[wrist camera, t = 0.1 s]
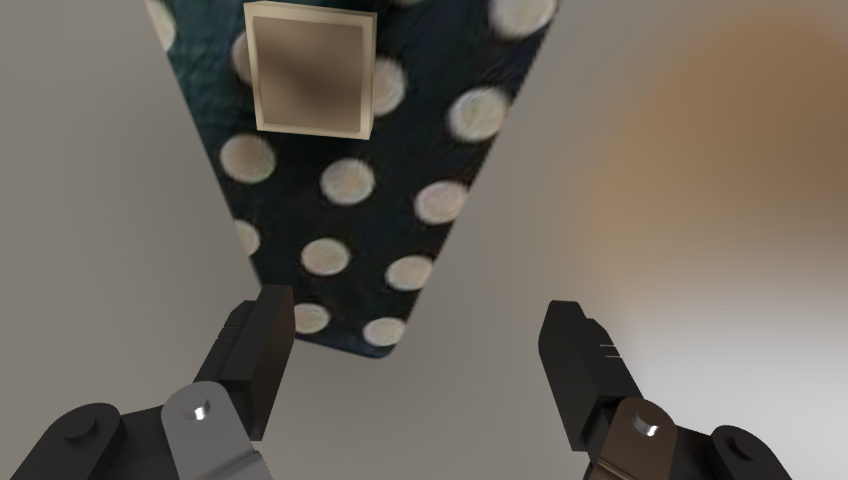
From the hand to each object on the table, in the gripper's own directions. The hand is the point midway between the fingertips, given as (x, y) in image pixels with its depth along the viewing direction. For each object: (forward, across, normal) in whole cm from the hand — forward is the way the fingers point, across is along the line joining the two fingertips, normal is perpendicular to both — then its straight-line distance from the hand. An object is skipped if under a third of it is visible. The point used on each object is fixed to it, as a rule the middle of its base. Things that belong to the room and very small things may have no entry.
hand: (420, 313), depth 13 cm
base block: (+29, +8, -2) cm, 30 cm away
